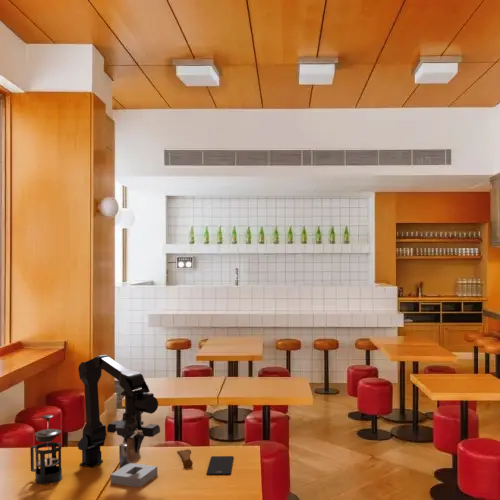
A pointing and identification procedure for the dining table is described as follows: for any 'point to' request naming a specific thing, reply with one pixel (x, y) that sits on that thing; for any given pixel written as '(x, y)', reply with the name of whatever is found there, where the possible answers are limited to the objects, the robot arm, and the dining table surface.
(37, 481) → the french press
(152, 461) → the dining table surface
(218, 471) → the cell phone
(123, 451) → the round metal peg
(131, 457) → the walnut bar
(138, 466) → the slotted block
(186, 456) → the primitive tool
